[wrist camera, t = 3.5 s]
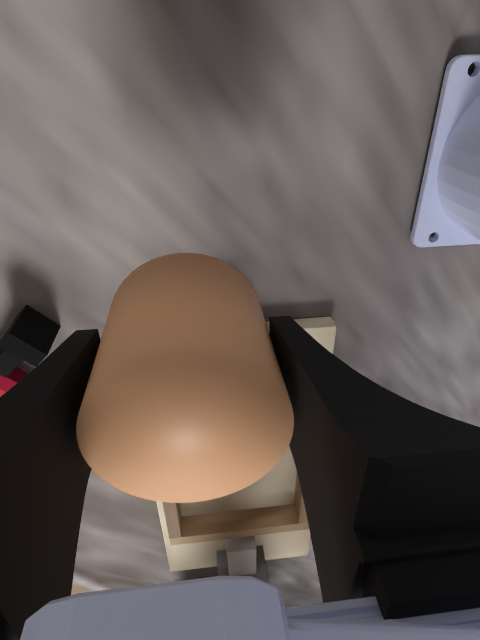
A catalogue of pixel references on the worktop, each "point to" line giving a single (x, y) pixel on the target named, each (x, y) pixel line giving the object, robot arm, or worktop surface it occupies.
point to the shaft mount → (245, 513)
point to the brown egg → (184, 385)
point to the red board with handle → (25, 345)
